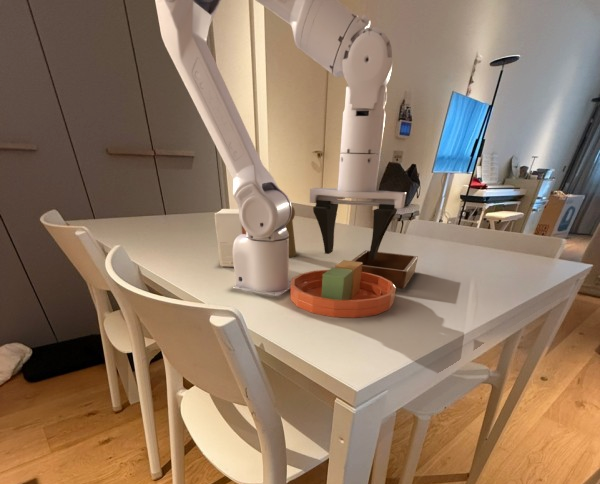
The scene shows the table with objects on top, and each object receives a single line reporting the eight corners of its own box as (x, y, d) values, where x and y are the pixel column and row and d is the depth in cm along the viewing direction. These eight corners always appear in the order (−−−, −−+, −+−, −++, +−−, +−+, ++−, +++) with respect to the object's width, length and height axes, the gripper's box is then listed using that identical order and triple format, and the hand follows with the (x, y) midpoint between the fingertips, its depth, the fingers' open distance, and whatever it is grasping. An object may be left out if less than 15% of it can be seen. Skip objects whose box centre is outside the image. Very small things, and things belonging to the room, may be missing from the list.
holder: (344, 282, 66) (346, 263, 64) (363, 267, 76) (365, 250, 74) (402, 291, 63) (406, 271, 60) (414, 273, 72) (418, 256, 70)
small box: (245, 267, 74) (241, 213, 68) (219, 267, 74) (213, 212, 68) (250, 258, 80) (246, 208, 74) (226, 258, 80) (221, 208, 74)
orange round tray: (273, 308, 54) (272, 290, 52) (313, 280, 67) (314, 265, 65) (377, 328, 49) (381, 308, 47) (400, 294, 61) (403, 277, 60)
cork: (293, 257, 82) (293, 206, 76) (269, 256, 83) (267, 205, 76) (298, 252, 87) (299, 203, 80) (275, 250, 88) (274, 202, 81)
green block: (320, 305, 54) (322, 274, 51) (330, 297, 58) (332, 267, 55) (341, 309, 53) (344, 277, 50) (349, 300, 56) (353, 270, 54)
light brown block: (332, 295, 58) (334, 265, 55) (340, 288, 62) (343, 259, 59) (351, 298, 57) (355, 268, 54) (359, 291, 61) (362, 262, 58)
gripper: (416, 155, 48) (398, 255, 56) (323, 154, 53) (318, 246, 61) (407, 154, 43) (389, 264, 51) (305, 153, 48) (303, 254, 56)
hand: (350, 255), depth 56 cm, fingers open, 7 cm apart
